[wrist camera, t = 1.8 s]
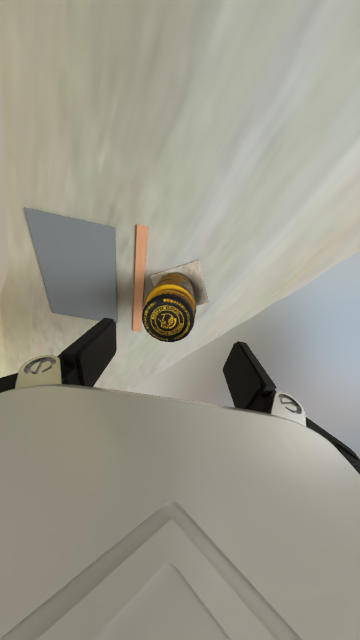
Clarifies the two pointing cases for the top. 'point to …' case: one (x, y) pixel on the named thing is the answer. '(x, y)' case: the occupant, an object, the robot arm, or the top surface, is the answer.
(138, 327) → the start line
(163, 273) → the condiment
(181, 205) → the top surface
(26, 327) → the top surface
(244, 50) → the top surface
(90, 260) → the mat
